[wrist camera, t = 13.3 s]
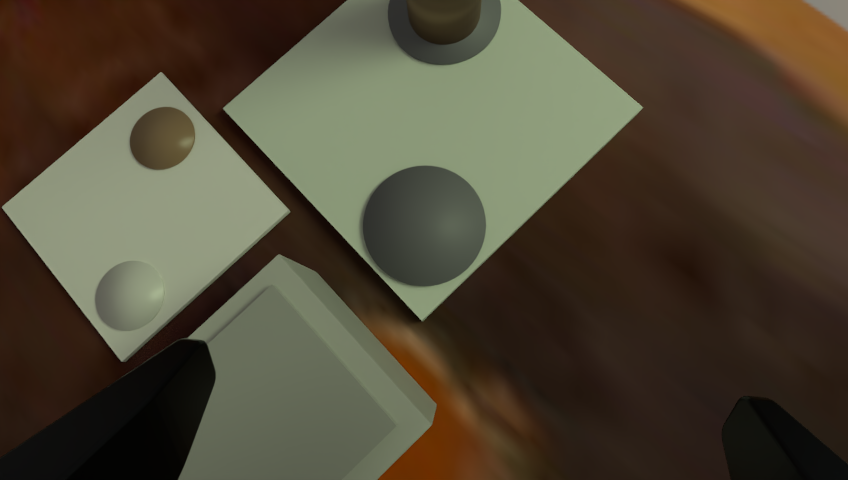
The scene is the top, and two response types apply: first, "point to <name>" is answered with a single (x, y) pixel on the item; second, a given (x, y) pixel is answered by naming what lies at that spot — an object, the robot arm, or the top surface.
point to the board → (430, 134)
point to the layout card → (144, 215)
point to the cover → (301, 387)
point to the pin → (443, 19)
